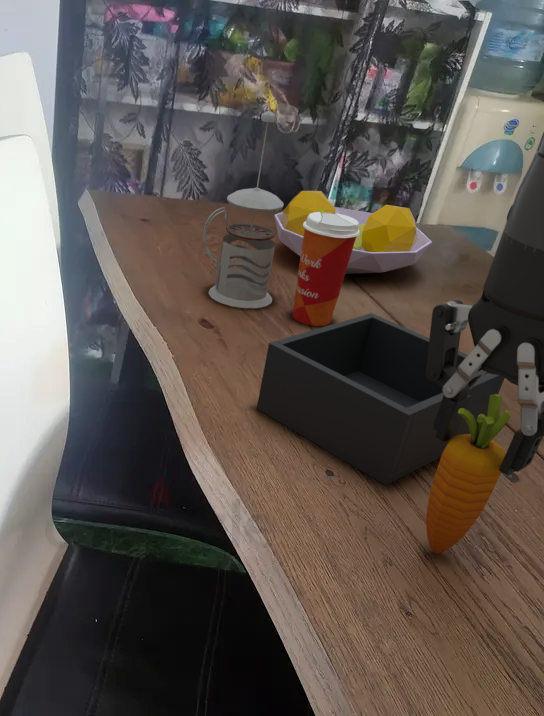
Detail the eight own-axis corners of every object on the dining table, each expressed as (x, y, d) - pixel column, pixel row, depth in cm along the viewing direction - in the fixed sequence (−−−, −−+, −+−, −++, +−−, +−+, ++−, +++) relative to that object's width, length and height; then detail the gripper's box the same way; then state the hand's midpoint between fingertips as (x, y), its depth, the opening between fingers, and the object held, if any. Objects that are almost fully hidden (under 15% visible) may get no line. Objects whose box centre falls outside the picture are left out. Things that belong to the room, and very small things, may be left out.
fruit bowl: (334, 231, 145) (348, 170, 138) (450, 276, 129) (472, 209, 122) (229, 248, 130) (239, 180, 123) (346, 301, 114) (364, 226, 107)
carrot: (441, 578, 62) (507, 424, 53) (395, 546, 65) (450, 394, 56) (475, 559, 64) (544, 408, 56) (429, 528, 68) (487, 381, 59)
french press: (276, 310, 108) (312, 121, 93) (198, 304, 107) (221, 112, 92) (268, 287, 116) (300, 109, 101) (195, 281, 115) (216, 100, 100)
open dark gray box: (354, 373, 93) (371, 312, 88) (481, 436, 83) (507, 371, 78) (256, 408, 83) (268, 342, 78) (385, 485, 73) (409, 415, 68)
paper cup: (280, 306, 110) (299, 208, 101) (330, 309, 110) (353, 212, 102) (291, 327, 103) (312, 225, 95) (344, 330, 104) (369, 229, 96)
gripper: (701, 261, 46) (584, 482, 56) (495, 202, 55) (426, 404, 65) (654, 279, 42) (537, 515, 52) (439, 212, 51) (374, 426, 61)
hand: (476, 452), depth 59 cm, fingers open, 5 cm apart
